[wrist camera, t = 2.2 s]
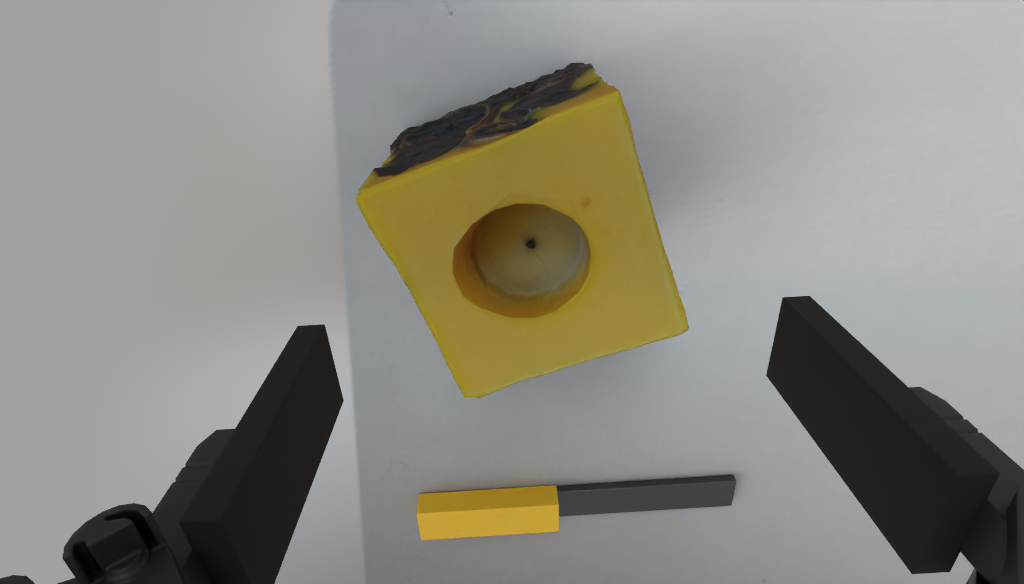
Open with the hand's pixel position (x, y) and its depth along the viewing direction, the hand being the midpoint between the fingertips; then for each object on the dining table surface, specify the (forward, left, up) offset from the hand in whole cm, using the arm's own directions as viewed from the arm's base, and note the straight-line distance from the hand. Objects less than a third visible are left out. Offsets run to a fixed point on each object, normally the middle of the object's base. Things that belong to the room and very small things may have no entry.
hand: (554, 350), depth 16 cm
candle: (0, 0, -15) cm, 15 cm away
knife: (+18, -16, -15) cm, 28 cm away
